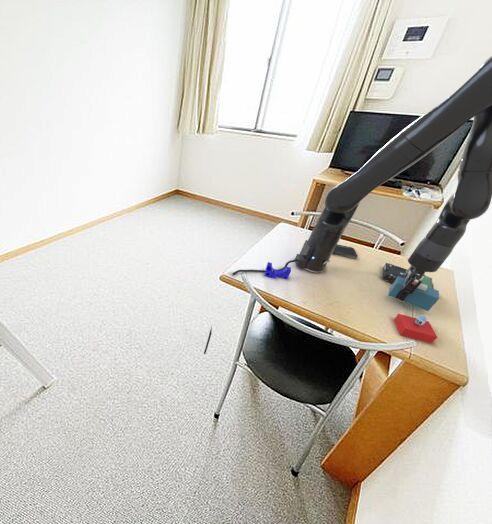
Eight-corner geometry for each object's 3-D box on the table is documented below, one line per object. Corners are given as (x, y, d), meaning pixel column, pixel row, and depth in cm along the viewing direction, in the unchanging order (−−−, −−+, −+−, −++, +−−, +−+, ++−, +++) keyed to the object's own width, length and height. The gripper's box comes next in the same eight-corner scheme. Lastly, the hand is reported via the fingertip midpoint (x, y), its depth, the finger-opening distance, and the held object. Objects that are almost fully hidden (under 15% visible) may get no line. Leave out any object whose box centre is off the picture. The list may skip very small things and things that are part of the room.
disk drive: (381, 280, 113) (430, 296, 107) (385, 274, 112) (435, 290, 105) (382, 268, 120) (428, 282, 114) (385, 262, 119) (432, 276, 112)
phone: (316, 239, 133) (353, 247, 130) (315, 242, 134) (352, 249, 130) (318, 248, 127) (358, 257, 123) (317, 250, 128) (356, 259, 124)
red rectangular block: (400, 334, 90) (412, 320, 87) (393, 319, 96) (404, 305, 92) (431, 343, 88) (445, 328, 85) (423, 327, 93) (435, 313, 90)
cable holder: (264, 275, 110) (267, 267, 108) (264, 270, 113) (267, 262, 111) (287, 281, 108) (291, 272, 106) (286, 276, 111) (290, 267, 109)
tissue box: (428, 311, 96) (441, 295, 92) (387, 295, 102) (398, 280, 98) (428, 303, 100) (441, 287, 96) (389, 288, 105) (400, 273, 101)
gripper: (416, 240, 98) (388, 280, 108) (414, 257, 89) (384, 300, 99) (445, 249, 95) (413, 290, 104) (447, 268, 85) (412, 311, 95)
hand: (399, 295), depth 102 cm, fingers closed on tissue box, 5 cm apart
